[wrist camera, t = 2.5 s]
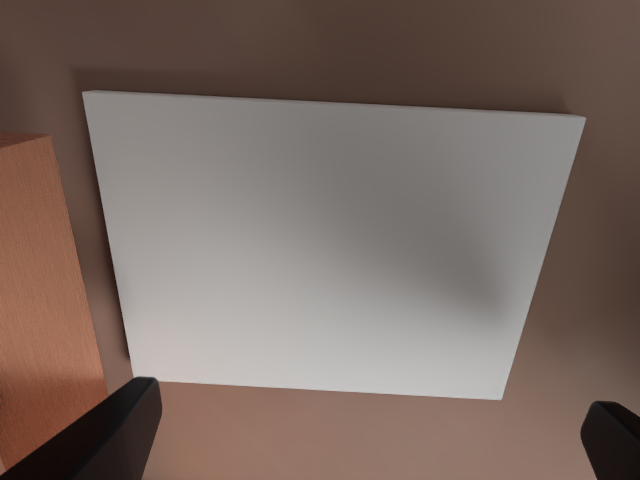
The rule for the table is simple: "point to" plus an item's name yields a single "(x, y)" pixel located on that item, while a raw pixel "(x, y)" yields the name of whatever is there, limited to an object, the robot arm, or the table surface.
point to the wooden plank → (40, 304)
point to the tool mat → (326, 238)
